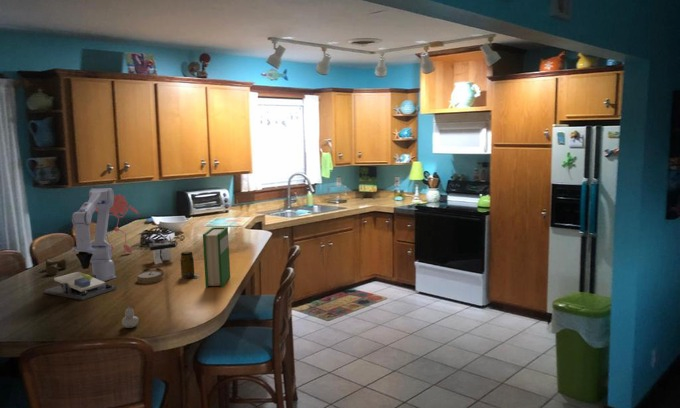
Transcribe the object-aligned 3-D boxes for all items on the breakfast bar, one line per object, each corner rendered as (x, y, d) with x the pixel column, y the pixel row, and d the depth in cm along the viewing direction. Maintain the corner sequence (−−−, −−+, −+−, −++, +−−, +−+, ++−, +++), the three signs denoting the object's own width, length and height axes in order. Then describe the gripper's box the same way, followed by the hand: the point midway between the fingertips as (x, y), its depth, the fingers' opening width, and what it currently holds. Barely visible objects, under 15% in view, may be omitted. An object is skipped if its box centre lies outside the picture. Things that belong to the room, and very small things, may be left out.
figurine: (138, 255, 305) (134, 194, 301) (93, 256, 306) (88, 195, 302) (148, 250, 320) (144, 192, 317) (105, 251, 321) (101, 193, 317)
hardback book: (222, 287, 238) (219, 234, 234) (205, 287, 237) (202, 234, 234) (230, 276, 255) (227, 227, 252) (214, 277, 255) (212, 227, 252)
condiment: (183, 275, 260) (181, 250, 259) (200, 274, 260) (199, 250, 258) (178, 279, 253) (177, 254, 251) (196, 278, 253) (195, 253, 251)
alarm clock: (133, 278, 245) (142, 265, 259) (134, 288, 247) (143, 274, 261) (158, 277, 246) (166, 264, 260) (159, 287, 247) (167, 273, 262)
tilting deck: (53, 280, 235) (54, 273, 234) (78, 273, 245) (78, 267, 244) (81, 291, 227) (81, 285, 226) (105, 284, 237) (105, 278, 237)
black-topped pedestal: (137, 271, 271) (135, 245, 270) (134, 260, 295) (132, 236, 293) (193, 264, 282) (192, 239, 281) (186, 254, 306) (185, 231, 305)
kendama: (41, 277, 264) (49, 267, 282) (62, 276, 267) (69, 266, 285) (40, 265, 263) (48, 256, 281) (62, 264, 266) (68, 255, 284)
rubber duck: (120, 330, 187) (118, 308, 186) (124, 324, 193) (123, 302, 192) (136, 329, 188) (135, 307, 187) (140, 322, 194) (138, 301, 193)
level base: (44, 293, 235) (43, 280, 234) (79, 283, 250) (78, 271, 249) (82, 300, 223) (81, 287, 222) (116, 289, 238) (115, 277, 237)
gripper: (64, 239, 236) (67, 269, 238) (86, 241, 229) (88, 272, 231) (78, 236, 242) (81, 265, 244) (100, 238, 236) (102, 268, 237)
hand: (85, 268), depth 238 cm, fingers closed
